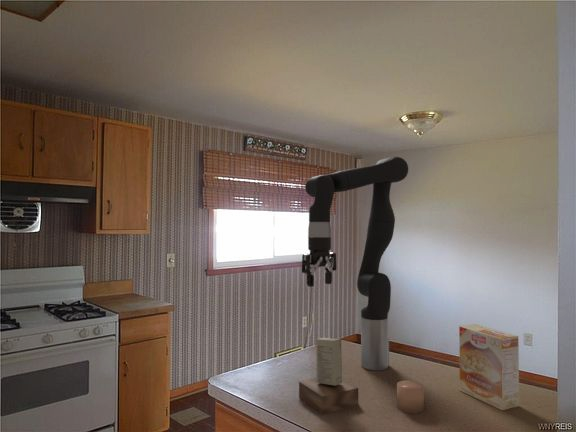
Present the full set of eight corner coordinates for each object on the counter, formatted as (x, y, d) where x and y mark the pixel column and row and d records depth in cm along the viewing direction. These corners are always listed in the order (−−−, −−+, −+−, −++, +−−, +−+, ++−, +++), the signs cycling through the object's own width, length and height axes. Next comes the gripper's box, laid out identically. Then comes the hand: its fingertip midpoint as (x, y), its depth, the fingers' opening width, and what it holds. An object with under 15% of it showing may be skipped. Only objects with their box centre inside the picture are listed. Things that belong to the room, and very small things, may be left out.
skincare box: (342, 383, 117) (342, 339, 119) (335, 386, 114) (335, 340, 115) (323, 379, 121) (323, 336, 123) (315, 382, 117) (315, 338, 119)
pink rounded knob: (405, 399, 118) (405, 378, 118) (428, 407, 113) (428, 385, 113) (392, 407, 113) (391, 385, 113) (415, 415, 108) (414, 392, 108)
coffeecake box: (458, 390, 125) (458, 325, 125) (476, 386, 127) (475, 323, 128) (501, 411, 111) (501, 338, 111) (520, 406, 114) (519, 335, 114)
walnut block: (332, 390, 125) (332, 374, 125) (358, 405, 115) (358, 387, 115) (299, 399, 119) (299, 381, 119) (322, 415, 109) (322, 396, 109)
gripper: (325, 235, 144) (325, 282, 143) (296, 236, 134) (296, 286, 134) (342, 235, 138) (342, 284, 138) (312, 236, 129) (312, 288, 128)
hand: (319, 285), depth 136 cm, fingers open, 8 cm apart
